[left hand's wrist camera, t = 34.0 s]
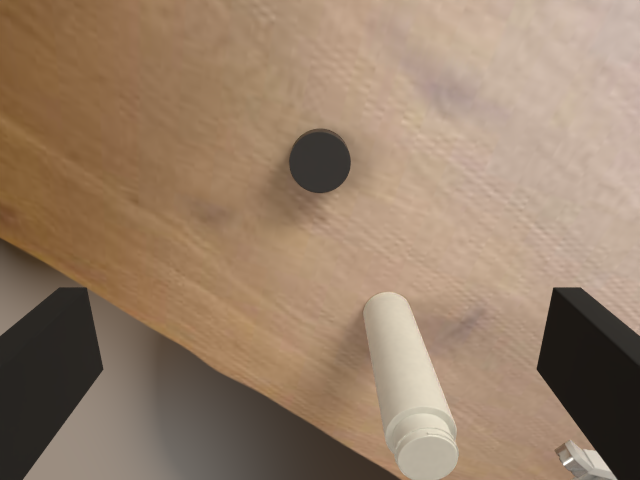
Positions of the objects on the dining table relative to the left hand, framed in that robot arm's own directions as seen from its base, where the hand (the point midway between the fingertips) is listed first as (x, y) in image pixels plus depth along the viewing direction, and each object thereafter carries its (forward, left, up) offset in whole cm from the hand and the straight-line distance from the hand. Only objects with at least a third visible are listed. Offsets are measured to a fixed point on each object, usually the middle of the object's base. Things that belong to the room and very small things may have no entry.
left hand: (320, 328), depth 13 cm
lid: (0, 0, -27) cm, 27 cm away
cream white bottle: (+17, -6, -29) cm, 34 cm away
